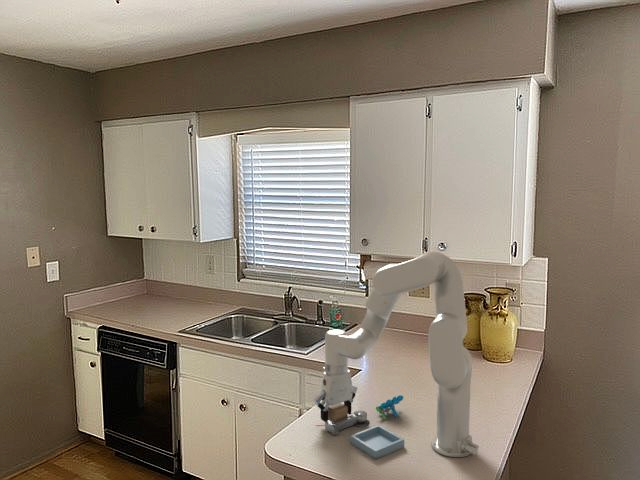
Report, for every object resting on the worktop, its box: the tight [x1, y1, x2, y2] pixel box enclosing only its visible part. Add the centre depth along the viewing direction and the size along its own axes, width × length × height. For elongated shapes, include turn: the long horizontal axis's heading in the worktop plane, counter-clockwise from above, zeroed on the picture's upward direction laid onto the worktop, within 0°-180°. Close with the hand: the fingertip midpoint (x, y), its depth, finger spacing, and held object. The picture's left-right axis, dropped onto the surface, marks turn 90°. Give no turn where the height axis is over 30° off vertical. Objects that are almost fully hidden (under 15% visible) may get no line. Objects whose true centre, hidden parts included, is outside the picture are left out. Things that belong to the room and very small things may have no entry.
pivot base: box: [315, 419, 370, 428], centre depth 174 cm, size 6×18×1 cm, turn 106°
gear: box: [375, 394, 404, 421], centre depth 180 cm, size 11×6×10 cm
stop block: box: [327, 402, 349, 422], centre depth 175 cm, size 5×5×6 cm
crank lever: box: [324, 410, 368, 436], centre depth 172 cm, size 15×5×3 cm, turn 126°
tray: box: [349, 424, 405, 460], centre depth 160 cm, size 12×12×2 cm
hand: (336, 416), depth 175 cm, fingers open, 9 cm apart
